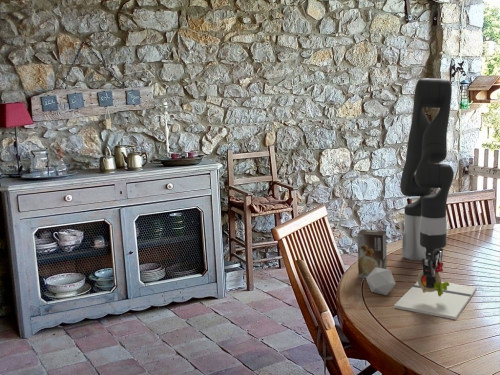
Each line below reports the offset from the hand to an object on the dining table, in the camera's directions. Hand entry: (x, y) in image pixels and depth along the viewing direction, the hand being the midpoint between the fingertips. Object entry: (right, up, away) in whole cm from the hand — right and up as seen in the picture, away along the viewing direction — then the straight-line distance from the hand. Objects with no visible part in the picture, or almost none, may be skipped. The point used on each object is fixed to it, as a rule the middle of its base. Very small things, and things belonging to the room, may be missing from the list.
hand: (432, 284), depth 168 cm
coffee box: (-12, -2, +27) cm, 30 cm away
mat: (+3, -5, +5) cm, 8 cm away
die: (-13, -5, +12) cm, 18 cm away
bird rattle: (0, -3, 0) cm, 3 cm away
